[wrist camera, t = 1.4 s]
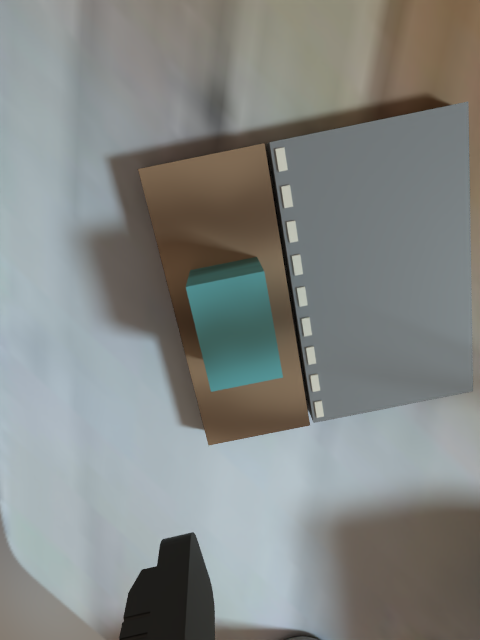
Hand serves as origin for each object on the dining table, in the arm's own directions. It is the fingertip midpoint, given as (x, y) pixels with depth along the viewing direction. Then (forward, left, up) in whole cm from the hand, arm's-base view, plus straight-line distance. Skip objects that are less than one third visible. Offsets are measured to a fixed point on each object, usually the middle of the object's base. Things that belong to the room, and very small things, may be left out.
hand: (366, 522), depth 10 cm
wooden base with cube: (0, -2, -19) cm, 19 cm away
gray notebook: (0, +7, -19) cm, 20 cm away
